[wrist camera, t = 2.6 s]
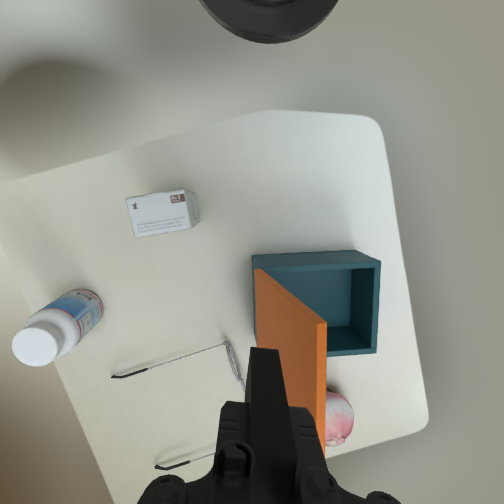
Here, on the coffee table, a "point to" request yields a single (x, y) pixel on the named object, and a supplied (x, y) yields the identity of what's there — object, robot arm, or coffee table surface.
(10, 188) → the coffee table surface
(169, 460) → the coffee table surface
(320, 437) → the lid
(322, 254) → the box
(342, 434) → the onion
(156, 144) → the coffee table surface
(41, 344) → the pill bottle
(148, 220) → the cosmetic box
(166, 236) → the coffee table surface
